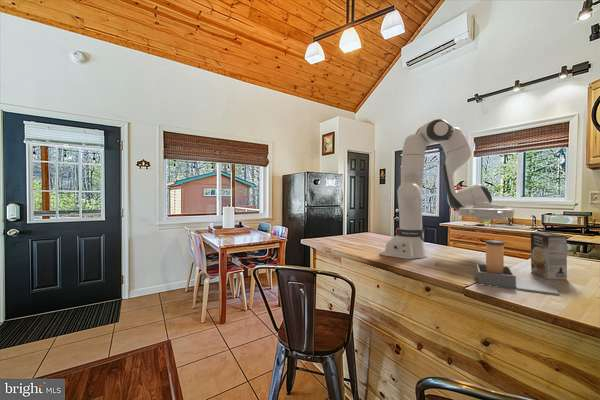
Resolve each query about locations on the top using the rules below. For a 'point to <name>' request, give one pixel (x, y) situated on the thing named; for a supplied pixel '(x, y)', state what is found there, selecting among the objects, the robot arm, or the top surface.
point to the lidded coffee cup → (494, 257)
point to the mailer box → (512, 281)
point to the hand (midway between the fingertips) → (486, 213)
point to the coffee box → (549, 255)
